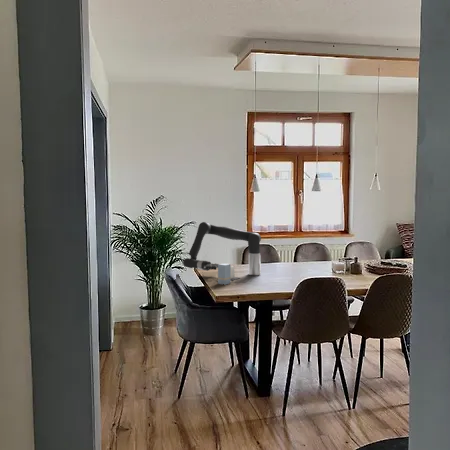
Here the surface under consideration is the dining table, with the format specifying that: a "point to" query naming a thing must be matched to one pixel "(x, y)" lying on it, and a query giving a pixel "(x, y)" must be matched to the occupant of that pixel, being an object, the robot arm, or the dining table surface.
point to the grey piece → (224, 274)
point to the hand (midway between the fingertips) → (219, 267)
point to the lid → (232, 271)
